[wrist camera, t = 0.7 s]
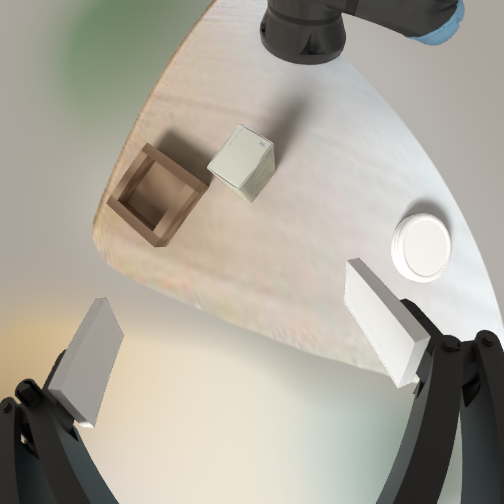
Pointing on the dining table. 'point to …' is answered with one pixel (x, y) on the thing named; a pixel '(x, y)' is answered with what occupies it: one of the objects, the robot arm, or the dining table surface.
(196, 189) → the holder
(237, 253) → the dining table surface
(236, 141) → the skincare box
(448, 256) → the white round piece
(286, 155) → the dining table surface
